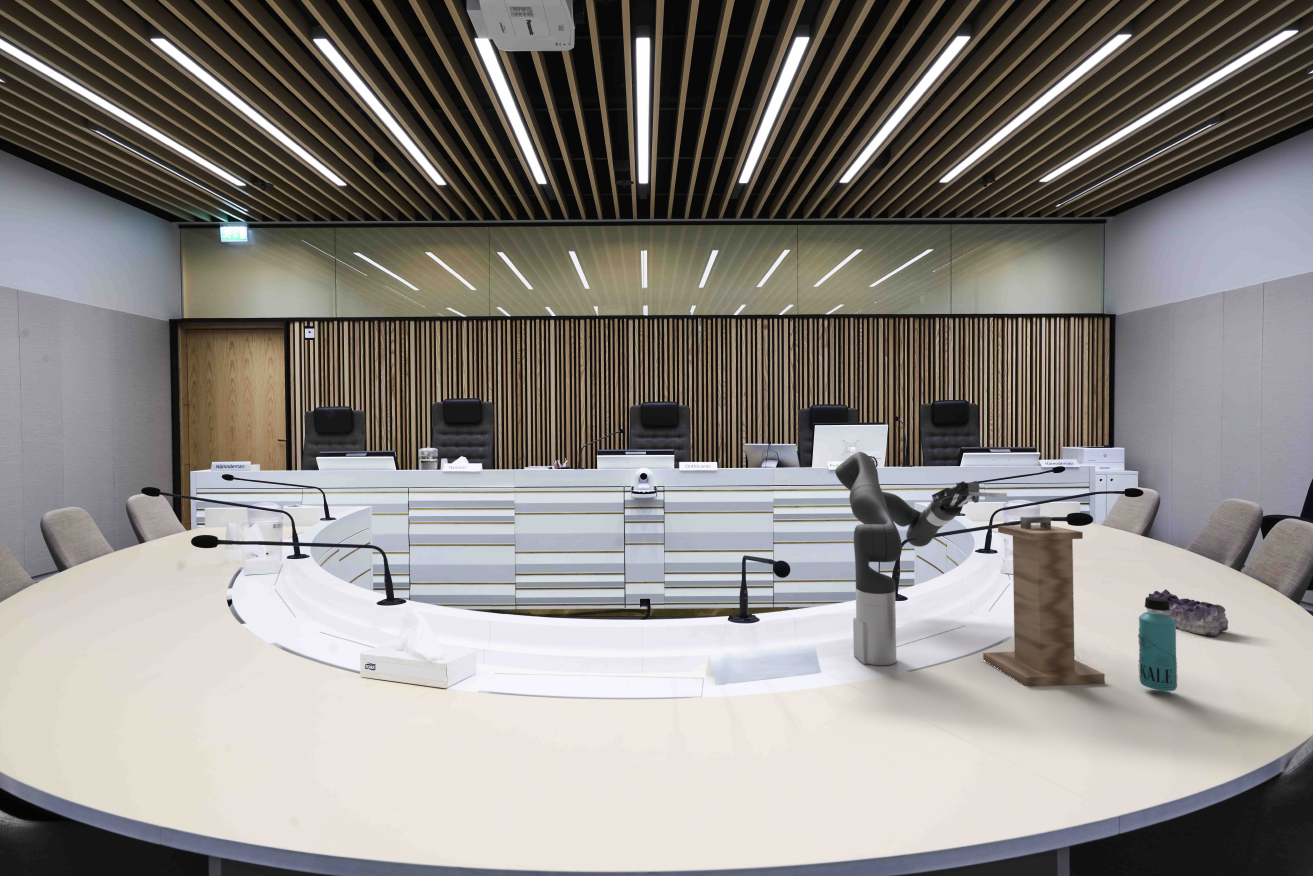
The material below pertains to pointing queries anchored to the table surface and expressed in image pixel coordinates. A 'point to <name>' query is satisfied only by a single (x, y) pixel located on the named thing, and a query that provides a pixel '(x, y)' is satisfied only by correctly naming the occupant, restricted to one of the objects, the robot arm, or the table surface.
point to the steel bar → (973, 490)
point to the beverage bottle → (1157, 647)
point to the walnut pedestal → (1043, 608)
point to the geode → (1194, 614)
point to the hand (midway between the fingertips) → (970, 484)
